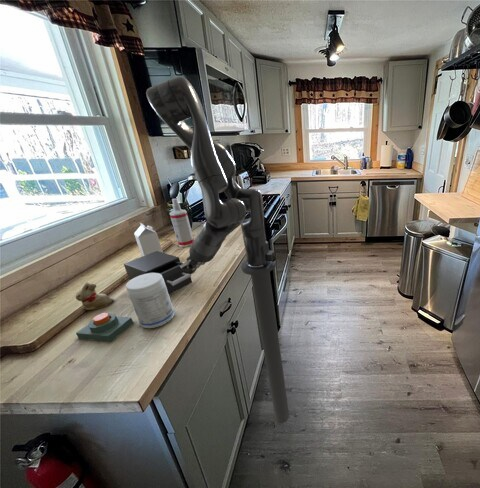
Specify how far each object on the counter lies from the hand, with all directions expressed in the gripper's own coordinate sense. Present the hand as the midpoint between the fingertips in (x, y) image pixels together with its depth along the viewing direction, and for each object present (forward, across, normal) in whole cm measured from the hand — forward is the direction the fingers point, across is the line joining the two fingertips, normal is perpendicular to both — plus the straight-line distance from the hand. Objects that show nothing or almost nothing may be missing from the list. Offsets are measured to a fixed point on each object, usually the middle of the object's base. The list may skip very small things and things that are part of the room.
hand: (190, 271), depth 90 cm
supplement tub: (+8, +14, +7) cm, 18 cm away
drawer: (+16, +1, -3) cm, 16 cm away
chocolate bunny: (+27, +19, -12) cm, 35 cm away
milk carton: (+37, -10, -22) cm, 45 cm away
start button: (+12, +24, -2) cm, 27 cm away
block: (+14, +24, +1) cm, 28 cm away
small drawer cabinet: (+22, +1, -8) cm, 24 cm away
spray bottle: (+42, -31, -27) cm, 58 cm away
